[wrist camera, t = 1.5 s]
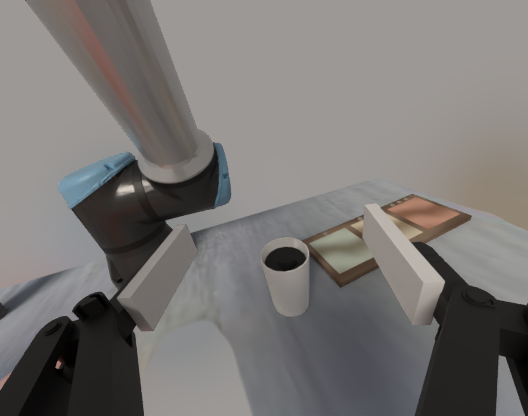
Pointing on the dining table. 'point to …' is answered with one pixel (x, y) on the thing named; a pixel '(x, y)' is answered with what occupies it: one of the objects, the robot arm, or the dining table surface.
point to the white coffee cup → (287, 274)
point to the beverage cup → (2, 311)
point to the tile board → (357, 252)
